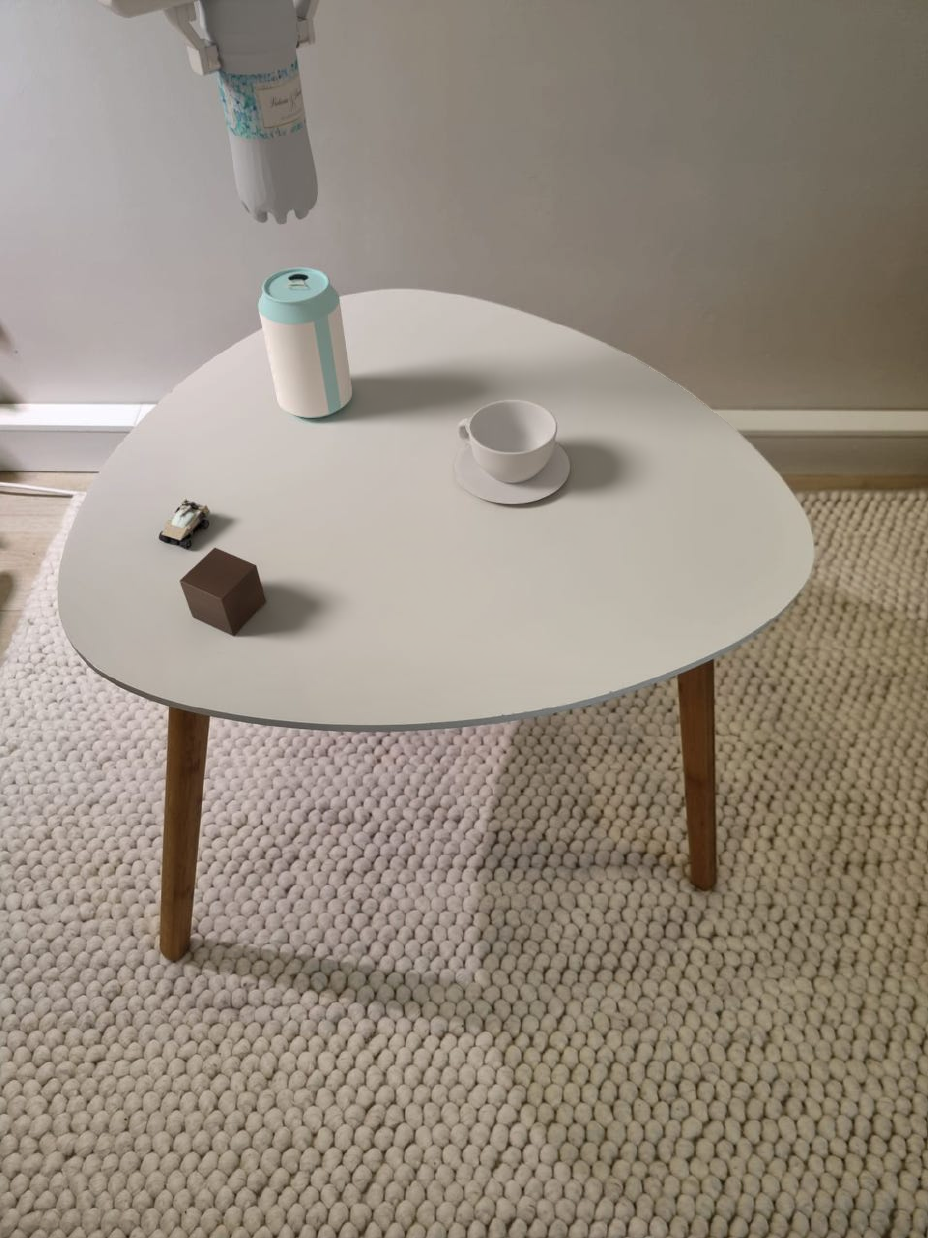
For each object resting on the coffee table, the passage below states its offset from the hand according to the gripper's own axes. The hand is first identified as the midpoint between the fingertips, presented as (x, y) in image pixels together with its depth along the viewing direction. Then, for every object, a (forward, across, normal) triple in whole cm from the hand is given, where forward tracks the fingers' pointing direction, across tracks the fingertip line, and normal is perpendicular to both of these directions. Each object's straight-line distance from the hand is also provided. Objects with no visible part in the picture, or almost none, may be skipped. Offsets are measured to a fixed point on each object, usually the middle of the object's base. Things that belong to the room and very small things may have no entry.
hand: (254, 58), depth 68 cm
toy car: (+30, +18, +8) cm, 35 cm away
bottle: (+11, 0, 0) cm, 11 cm away
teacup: (+30, -7, +20) cm, 36 cm away
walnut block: (+30, +20, +18) cm, 40 cm away
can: (+30, 0, 0) cm, 30 cm away
